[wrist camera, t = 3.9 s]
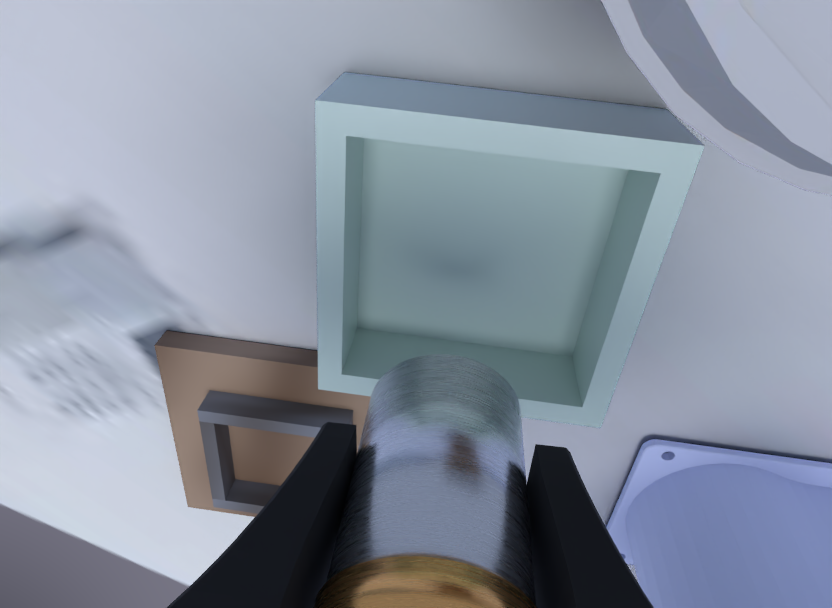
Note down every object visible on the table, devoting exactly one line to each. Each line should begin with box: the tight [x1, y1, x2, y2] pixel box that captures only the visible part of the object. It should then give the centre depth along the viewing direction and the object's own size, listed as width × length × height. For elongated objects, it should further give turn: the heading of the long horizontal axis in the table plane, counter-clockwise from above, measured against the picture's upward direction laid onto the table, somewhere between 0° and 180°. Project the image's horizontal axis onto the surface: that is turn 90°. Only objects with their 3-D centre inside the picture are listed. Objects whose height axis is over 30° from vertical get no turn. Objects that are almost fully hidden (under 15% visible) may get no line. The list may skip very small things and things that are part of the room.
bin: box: [315, 72, 704, 428], centre depth 18 cm, size 10×10×4 cm
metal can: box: [314, 354, 537, 608], centre depth 11 cm, size 4×4×6 cm
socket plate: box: [155, 331, 371, 517], centre depth 25 cm, size 10×10×2 cm
